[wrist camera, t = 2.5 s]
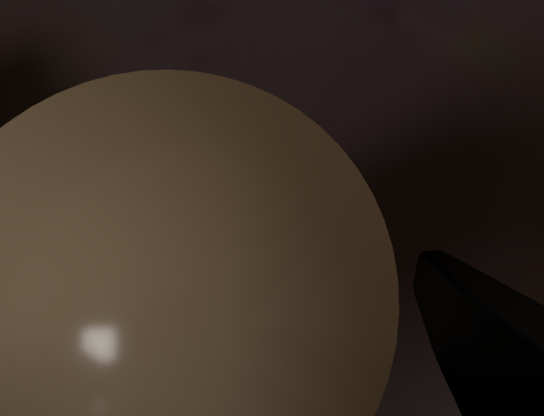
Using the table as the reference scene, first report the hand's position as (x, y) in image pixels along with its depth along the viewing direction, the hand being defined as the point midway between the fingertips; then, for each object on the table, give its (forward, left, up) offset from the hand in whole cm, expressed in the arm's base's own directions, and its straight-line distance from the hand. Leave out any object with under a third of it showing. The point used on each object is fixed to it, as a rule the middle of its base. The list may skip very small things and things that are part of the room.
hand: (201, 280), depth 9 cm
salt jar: (0, 0, -7) cm, 8 cm away
